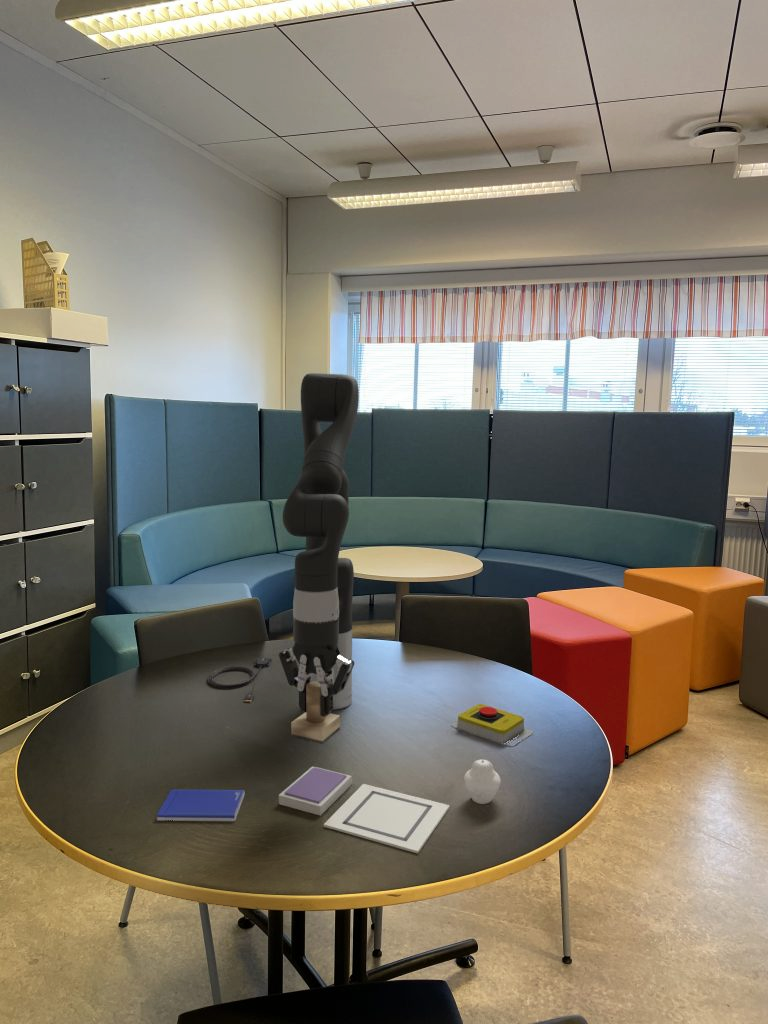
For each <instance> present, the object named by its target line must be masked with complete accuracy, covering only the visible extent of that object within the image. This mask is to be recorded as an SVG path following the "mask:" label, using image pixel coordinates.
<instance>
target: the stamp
mask: <svg viewBox="0 0 768 1024" xmlns="http://www.w3.org/2000/svg"><path fill="white" fill-rule="evenodd" d="M321 695H322V692H321V686H320V683H319V682H317V681H316V682H310V683H308V684H307V685H306V713H305V712H302V714H301V715H299V716H298V717H297V718H295V719H294V720H293V721H290V722H291V723H290V726H291V727H290V729H291V730H290V733H291V734H290V735H291V736H290V738H294V739H297V740H301V741H306V742H310V743H313V744H314V743H315V744H319V745H324V744H325V743H326V742H327V741H329V740H330V739H331V738H332V737H334V736H335V735H336V734H337V733H338V732H339V731H340V730H341V715H339V714H335V713H334V714H333V713H330V714H329V715H327V716H326V717H323V716H321Z"/></svg>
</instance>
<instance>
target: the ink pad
mask: <svg viewBox="0 0 768 1024" xmlns="http://www.w3.org/2000/svg"><path fill="white" fill-rule="evenodd" d="M352 784H353V776H352V775H349V774H345V773H341V772H337V771H333V770H328V769H325V768H321V767H317V766H311V767H310V768H308V770H307V771H305V772H304V773H303V774H302V775H300V777H298V778H297V779H296V780H294V781H293V782H292V783H291V784H290V785H288V787H287V788H285V789H284V790H283V791H281V793H279V794H278V804H279V805H280V806H284V807H287V808H288V807H289V808H290V809H291V808H292V809H295V810H300V811H302V812H305V813H311V814H314V815H317V816H322V815H323V814H324V813H325V812H326V811H327V810H328V809H329V808H330V807H331V806H332V805H333V804H334V803H335V802H336V801H337V800H338V799H339V798H341V796H342V795H343V794H344V793H345V792H347V790H348V789H349V788H350V787H351V786H352Z"/></svg>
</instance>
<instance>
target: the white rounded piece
mask: <svg viewBox="0 0 768 1024" xmlns="http://www.w3.org/2000/svg"><path fill="white" fill-rule="evenodd" d="M463 781H464V783H465V787H466V790H467V791H468V794H469V796H470V797H471V800H472V801H473V802H475V803H477V804H481V805H486V804H489V803H491V802H492V800H493V799H494V797H495V795H496V794H497V792H498V790H499V787H500V786H501V783H502V782H501V777H500V775H499V774H498V772H497V771H495V769H494V765H493V764H492V763H491V761H489V760H487V759H477V760H475V761H474V762H473V763H472V765H471V768H470V769H468V770H467V771H466V772H465V774H464V779H463Z"/></svg>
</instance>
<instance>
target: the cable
mask: <svg viewBox="0 0 768 1024" xmlns="http://www.w3.org/2000/svg"><path fill="white" fill-rule="evenodd" d="M272 659H273V658H272V657H256V660H255V662H254V664H253V667H257V668H258V669H257V671H256V672H255V671H253V670H252V669H251V668H248V667H245V666H227V667H222V668H220V669H219V668H218V669H217V670H215V671H213V672H212V673H211V674H209V675H208V677H207V682H208V684H210V685H211V686H212V687H215V686H216V688H218V687H220V688H219V689H226V688H229V689H237V688H236V687H238V688H241V686H242V687H245V686H248V685H249V684H251V683H253V687H252V689H251V691H250V692H248V693H247V694H246V695H245V697H244V698H243V703H244V702H251V701H252V702H253V701H254V699H255V694H254V691H255V688H256V687H255V686H256V684H255V682H254V680H255V679H256V676H257V674H258V673H259V672H260V670H261V669H262V668H269V667H270V665H271V664H272V662H273V661H272ZM233 671H234V672H245V673H248V674H249V675H250V678H248V679H247V680H245V681H242V682H239V683H238V682H237V683H234V684H232V683H231V684H225V683H224V684H223V683H218V682H216V681H214V678H216V676H218V675H220V674H224V673H227V672H233ZM252 702H251V703H252Z"/></svg>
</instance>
